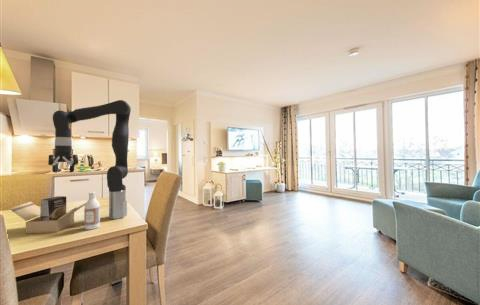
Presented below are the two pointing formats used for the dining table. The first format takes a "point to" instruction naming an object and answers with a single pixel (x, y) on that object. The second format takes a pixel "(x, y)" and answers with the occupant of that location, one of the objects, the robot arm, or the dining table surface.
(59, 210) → the coffee box
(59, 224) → the carton
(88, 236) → the dining table surface
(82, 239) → the dining table surface
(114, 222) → the dining table surface
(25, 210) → the flap
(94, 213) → the bath foam
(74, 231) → the dining table surface
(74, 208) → the flap
